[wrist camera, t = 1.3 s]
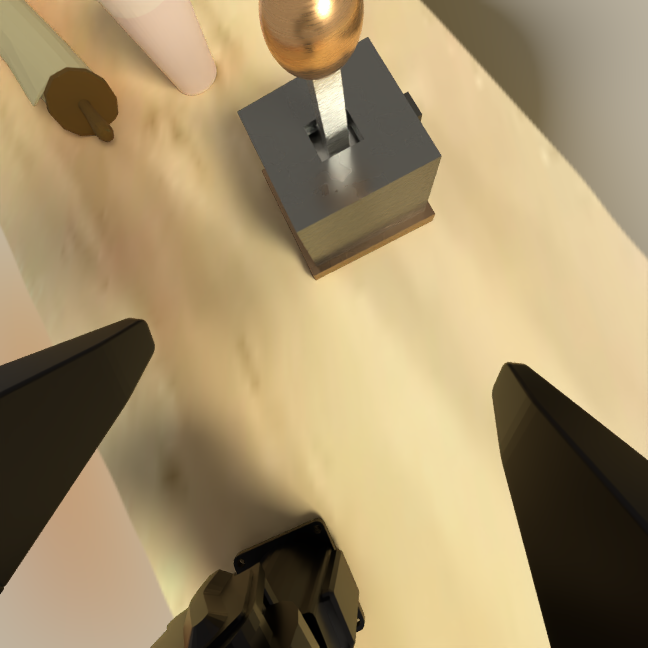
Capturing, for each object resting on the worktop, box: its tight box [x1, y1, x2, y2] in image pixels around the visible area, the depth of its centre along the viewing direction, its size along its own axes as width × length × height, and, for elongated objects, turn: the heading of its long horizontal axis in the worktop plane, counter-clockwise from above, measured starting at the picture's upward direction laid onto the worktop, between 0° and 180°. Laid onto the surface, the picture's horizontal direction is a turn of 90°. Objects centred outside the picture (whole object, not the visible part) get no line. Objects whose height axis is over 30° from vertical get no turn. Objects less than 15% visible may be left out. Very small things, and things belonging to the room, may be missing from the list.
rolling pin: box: [0, 0, 118, 142], centre depth 28 cm, size 32×6×5 cm, turn 43°
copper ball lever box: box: [238, 37, 441, 280], centre depth 20 cm, size 9×9×7 cm
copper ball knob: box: [259, 0, 364, 162], centre depth 14 cm, size 6×6×9 cm
